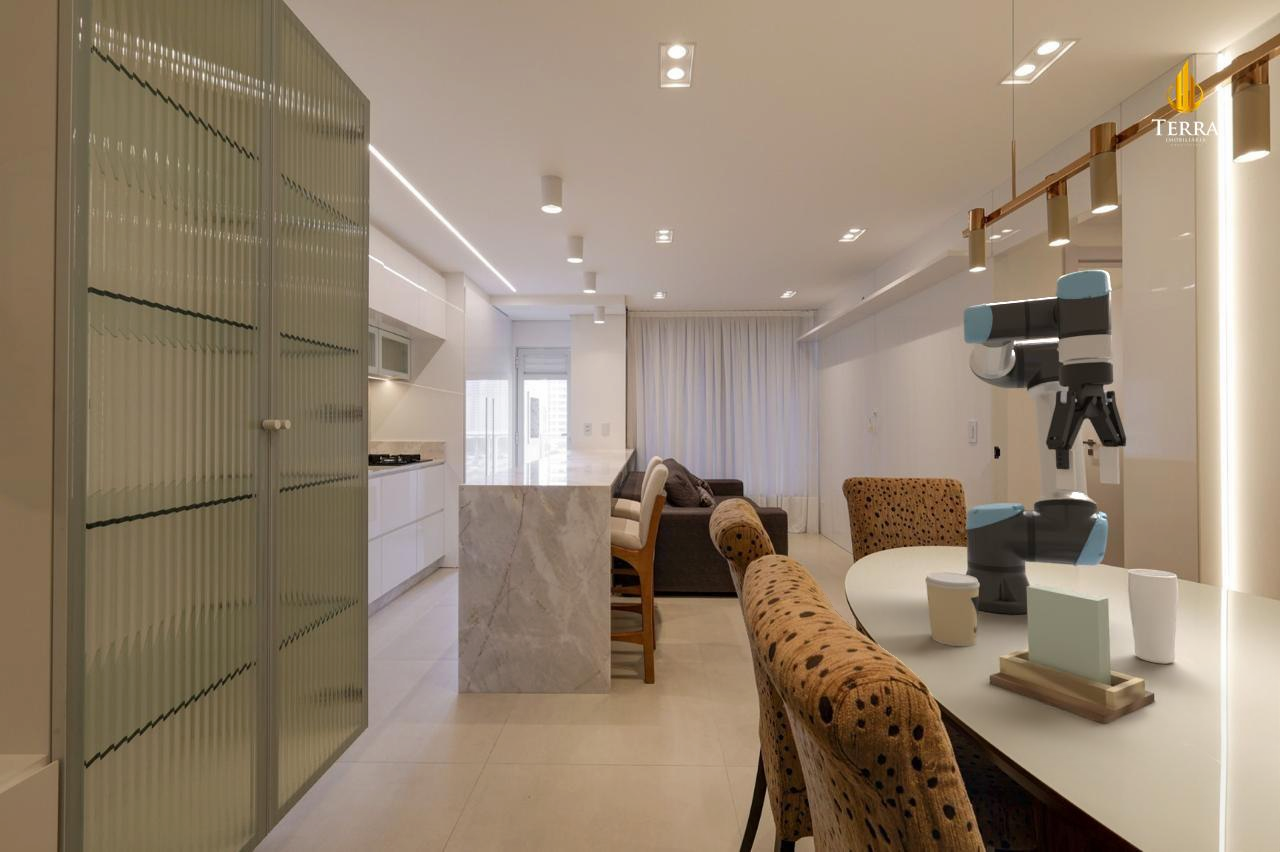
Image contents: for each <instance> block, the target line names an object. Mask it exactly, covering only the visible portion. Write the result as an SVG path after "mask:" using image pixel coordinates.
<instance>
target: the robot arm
mask: <svg viewBox="0 0 1280 852" xmlns="http://www.w3.org/2000/svg"><path fill="white" fill-rule="evenodd" d="M1112 292H1113V288H1112V287H1111V279H1110V274H1109V273H1108V272H1107V271H1105V270H1102V269H1094V270H1092V269H1091V270H1089V269H1088V270H1083V271H1082V270H1081V271H1075V272H1071V273H1068V274H1065V275H1062V276H1060V277H1059V278H1058V279H1057V282H1056V292H1055V296H1052V297H1043V298H1036V299H1025V300H1015V301H1014V300H1013V301H1006V302H996V303H995V302H994V303H982V304H977V305H972V306H968V307H966V308H964V310H963V333H964V334H963V339H964V342H965V343H966V344H971V345H972V344H973V346H974V348H973V350H972V351H971V353H970V354H969V355H970V356H969V367H970V370H971V372H972V373H973V374H974V376H975V377H977V378H978V379H979V380H981V381H982V382H984V383H986V384H989V385H990V386H995V387H998V388H1003V389H1026V391H1027V392H1026V394H1027V396H1028V398H1030V399H1032V400H1033V401H1035V402H1034V403H1035V417H1036V420H1035V421H1036V434H1037V449H1038V452H1037V453H1038V465H1039V478H1040V479H1039V481H1040V482H1039V483H1040V497H1039V498H1038V499H1036V500H1035V501H1034V502H1033V509H1029V510H1028V509H1025V506H1024V504H1023V503H1020V502H1010V503H1009V502H1001V503H999V502H997V503H990V504H982V505H976V506H972V507H971V508H969V509H968V510H967V512H966V522H965V524H966V525H965V530H966V558H967V559H966V563H967V565H966V567H967V570H966V572H965V575H969V576H972V577H975V578H976V579H977V580H978V582H979V584H980V586H979V596H978V611H979V610H980V611H984V612H988V613H996V614H1009V615H1017V614H1019V615H1020V614H1027V586H1031V585H1030V582H1029V580H1028V577H1027V574H1026V562H1027V563H1041V564H1056V565H1070V566H1071V565H1072V566H1073V567H1076V566H1090V567H1091V566H1092V567H1093V566H1097V565H1099V564H1100V563H1101V562H1102V561H1103V559H1104V556H1105V553H1106V548H1107V543H1108V542H1107V541H1108V532H1109V531H1108V530H1109V522H1108V515H1107V514H1106V513H1105V512H1102V511H1098V506H1097V505H1098V504H1097V502H1095V500H1093V499H1092V498H1090V497H1089V496H1088V488H1087V477H1086V476H1087V475H1086V467H1085V464H1086V463H1085V454H1084V452H1085V451H1084V443H1083V432H1082V429H1083V428H1082V425H1083V423H1084V421H1085V420H1087V419H1088V420H1089V422H1090V423H1091V425H1092V427H1093V429H1094V431H1095V433H1096V434H1097V438H1098V439H1099V441H1100V443H1101V446H1099V447H1098V453H1099V454H1098V455H1099V456H1098V458H1099V460H1098V461H1099V483H1100V484H1108V485H1109V484H1110V485H1120V484H1121V480H1120V479H1121V477H1120V475H1121V474H1120V472H1121V471H1120V449H1119V447H1126V445H1127V436H1126V432H1125V429H1124V427H1123V423H1122V420H1121V415H1120V412H1119V409H1118V406H1117V401H1116V400H1117V399H1116V391H1115V390H1104V386H1108V385H1111V384H1113V383H1114V365H1113V363H1112V362H1110V360H1112V359H1113V358H1114V351H1113V349H1114V348H1113V347H1114V345H1113V335H1112V334H1113V333H1112Z"/></svg>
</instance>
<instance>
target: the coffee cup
mask: <svg viewBox="0 0 1280 852" xmlns="http://www.w3.org/2000/svg"><path fill="white" fill-rule="evenodd" d="M926 575H927V576H926V578H925V584H926V592H927V593H926V595H927V596H926V597H927V606H928V615H929V627H930V634H931V635H930V636H931V638H932V640H934V641H935V642H937V643H940V644H943V645H947V646H954V647H971V646H974V645H976V643H977V635H978V618H979V617H978V615H979V610H978V596H979V586H980V584H979V582H978V580H977V579H976V578H975V577H972V576H969V575H966V574H964V573H956V572H932V573H929V574H926Z"/></svg>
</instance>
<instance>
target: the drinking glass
mask: <svg viewBox="0 0 1280 852" xmlns="http://www.w3.org/2000/svg"><path fill="white" fill-rule="evenodd" d="M1126 580H1127V581H1126V586H1127V598H1128V607H1129V612H1130V620H1131V625H1132V626H1131V627H1132V633H1133V634H1132V636H1133V641H1134V642H1133V643H1134V645H1133V646H1134V654H1135V656H1136V657H1137V658H1139V659H1141V660H1144V661H1146V662H1150V663H1154V664H1166V665H1167V664H1172V663H1173V662H1175V660H1176V636H1177V635H1176V633H1177V622H1178V621H1177V619H1178V606H1179V585H1178V584H1179V583H1178V576H1177V574H1176V573H1173V572H1169V571H1164V570H1159V569H1149V568H1148V569H1147V568H1131V569H1128V570H1127V575H1126Z"/></svg>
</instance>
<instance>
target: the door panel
mask: <svg viewBox="0 0 1280 852" xmlns="http://www.w3.org/2000/svg"><path fill="white" fill-rule="evenodd" d="M1109 607H1110V606H1109V598H1108V597H1105V596H1101V595H1095V594H1088V593H1084V592H1079V591H1075V590H1068V589H1063V588H1058V587H1055V586H1054V587H1053V586H1048V585H1043V584H1039V583H1038V584H1032V585H1030V586H1027V613H1026V614H1027V639H1028V640H1027V643H1028V644H1027V648H1028V649H1029V661H1030V662H1034V663H1037V664H1040V665H1043V666H1047V667H1050V668H1053V669H1057V670H1060V671H1063V672H1066V673H1070V674H1073V675H1076V676H1079V677H1083V678H1086V679H1089V680H1092V681H1096V682H1099V683H1102V684H1106V685H1109V686H1111V670H1112V668H1111V643H1110V640H1111V639H1110V620H1109V619H1110V614H1109V610H1110V609H1109Z"/></svg>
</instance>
